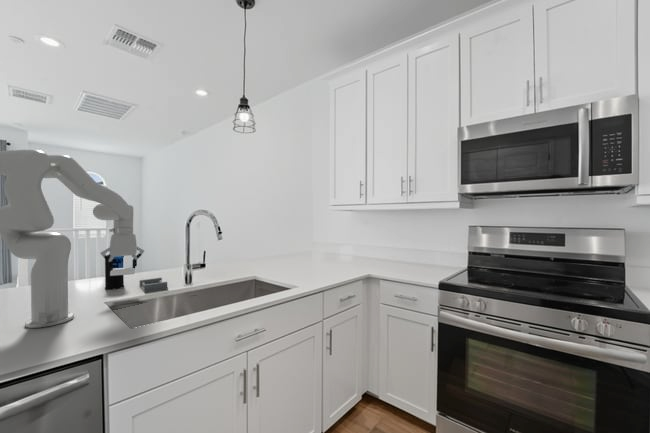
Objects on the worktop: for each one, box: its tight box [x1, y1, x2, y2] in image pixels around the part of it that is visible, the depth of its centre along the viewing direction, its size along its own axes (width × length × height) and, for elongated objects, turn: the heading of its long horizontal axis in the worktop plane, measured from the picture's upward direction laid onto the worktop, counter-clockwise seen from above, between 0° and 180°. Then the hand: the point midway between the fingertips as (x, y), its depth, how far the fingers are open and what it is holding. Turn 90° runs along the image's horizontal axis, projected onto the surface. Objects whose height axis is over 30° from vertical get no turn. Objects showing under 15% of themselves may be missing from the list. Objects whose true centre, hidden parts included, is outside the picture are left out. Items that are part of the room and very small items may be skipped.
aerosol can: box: [104, 253, 125, 291], centre depth 150 cm, size 8×8×20 cm
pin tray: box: [138, 277, 169, 294], centre depth 149 cm, size 16×10×4 cm, turn 40°
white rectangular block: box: [110, 267, 136, 276], centre depth 135 cm, size 5×9×3 cm, turn 120°
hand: (122, 268), depth 135 cm, fingers closed on white rectangular block, 8 cm apart
